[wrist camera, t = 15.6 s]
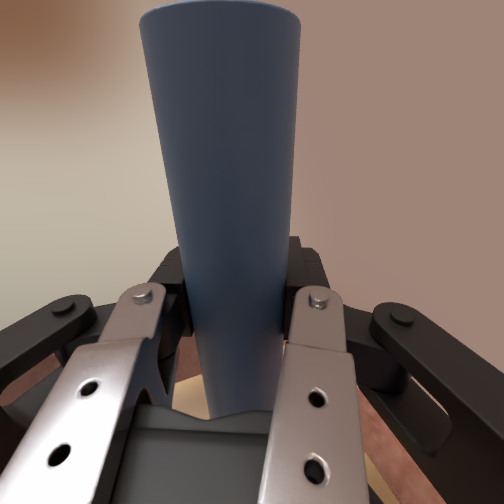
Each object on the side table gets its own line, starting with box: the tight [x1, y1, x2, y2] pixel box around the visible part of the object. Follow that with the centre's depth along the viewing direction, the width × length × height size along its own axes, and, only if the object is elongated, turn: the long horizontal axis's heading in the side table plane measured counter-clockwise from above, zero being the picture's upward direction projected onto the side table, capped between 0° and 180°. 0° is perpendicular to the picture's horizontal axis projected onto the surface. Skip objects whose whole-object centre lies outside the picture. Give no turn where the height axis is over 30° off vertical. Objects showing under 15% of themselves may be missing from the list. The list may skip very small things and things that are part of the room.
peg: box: [139, 0, 301, 419], centre depth 9 cm, size 3×3×16 cm
